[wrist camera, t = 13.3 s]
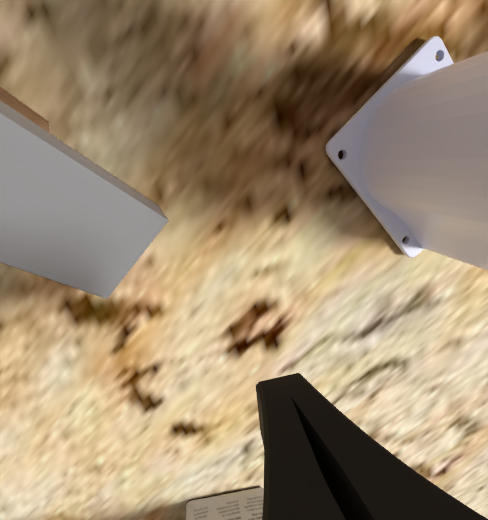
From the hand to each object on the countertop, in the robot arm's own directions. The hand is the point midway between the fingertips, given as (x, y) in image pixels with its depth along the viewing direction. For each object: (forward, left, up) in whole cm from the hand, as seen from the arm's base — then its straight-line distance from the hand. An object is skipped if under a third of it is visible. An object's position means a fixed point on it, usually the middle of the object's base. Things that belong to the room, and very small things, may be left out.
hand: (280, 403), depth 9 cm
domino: (+6, +2, -8) cm, 10 cm away
